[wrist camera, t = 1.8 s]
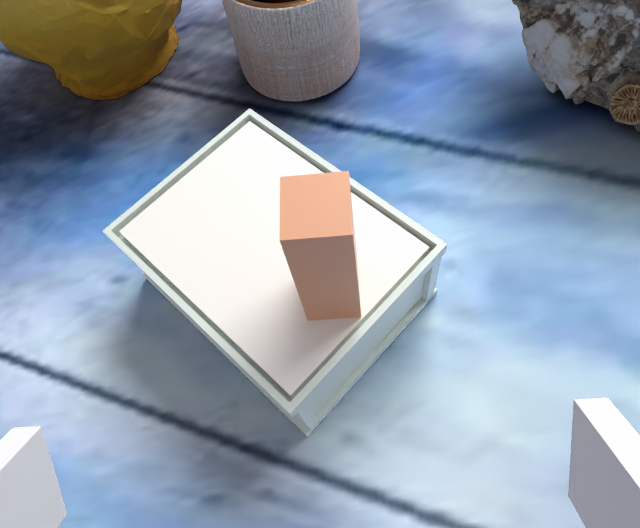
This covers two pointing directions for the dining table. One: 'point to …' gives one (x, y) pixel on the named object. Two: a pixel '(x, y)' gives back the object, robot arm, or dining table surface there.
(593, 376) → the dining table surface
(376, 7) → the dining table surface
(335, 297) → the lid
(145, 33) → the pitcher
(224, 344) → the tub
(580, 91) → the rock
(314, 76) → the planter
